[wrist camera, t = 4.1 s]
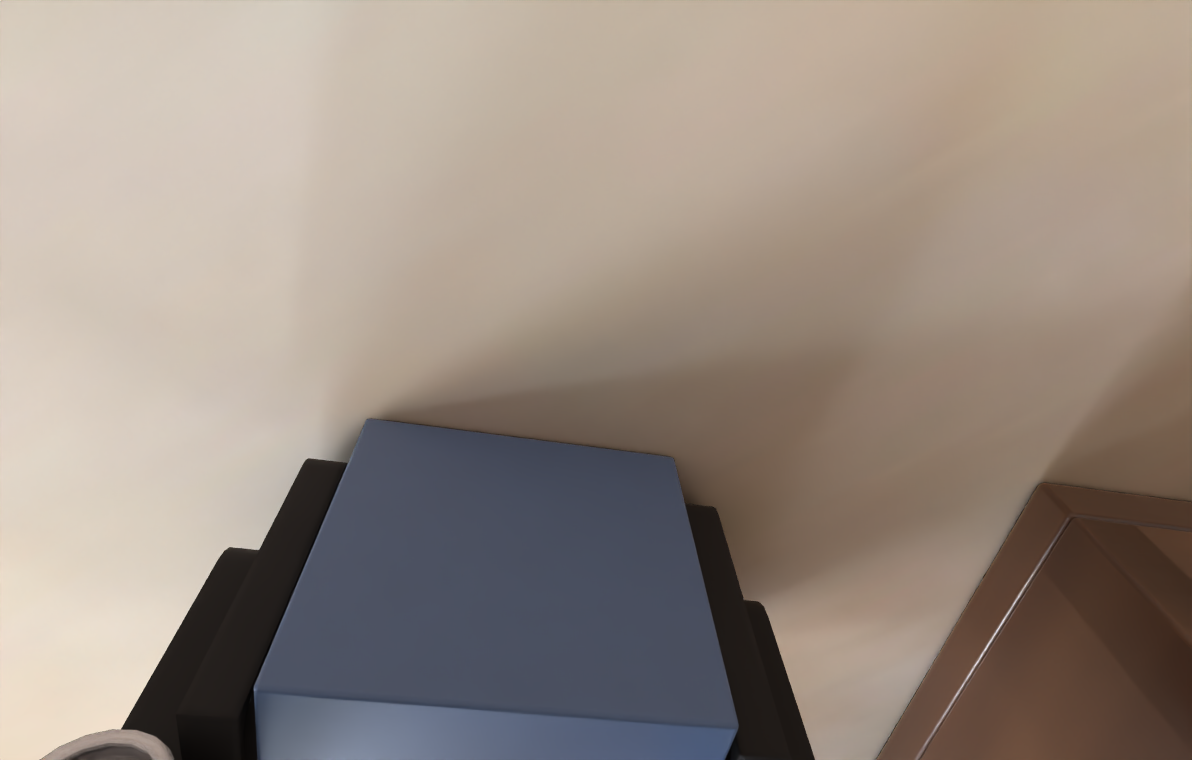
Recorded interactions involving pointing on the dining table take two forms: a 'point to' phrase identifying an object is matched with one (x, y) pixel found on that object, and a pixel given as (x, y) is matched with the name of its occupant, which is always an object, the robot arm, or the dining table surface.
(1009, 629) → the sorting tray
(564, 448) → the slate block
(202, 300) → the dining table surface
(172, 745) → the robot arm
